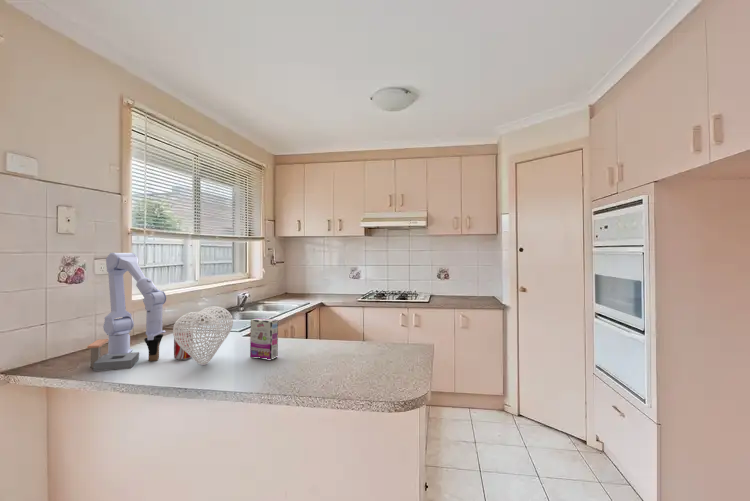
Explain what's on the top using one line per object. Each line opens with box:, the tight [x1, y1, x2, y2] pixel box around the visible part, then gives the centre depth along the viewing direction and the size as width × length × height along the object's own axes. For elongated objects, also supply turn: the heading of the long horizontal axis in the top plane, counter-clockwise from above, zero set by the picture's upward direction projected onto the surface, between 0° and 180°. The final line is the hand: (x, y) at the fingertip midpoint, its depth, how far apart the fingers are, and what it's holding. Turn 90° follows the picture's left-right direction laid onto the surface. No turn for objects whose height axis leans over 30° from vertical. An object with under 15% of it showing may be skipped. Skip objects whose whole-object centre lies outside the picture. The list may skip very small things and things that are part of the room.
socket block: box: [86, 338, 140, 372], centre depth 145 cm, size 12×14×9 cm
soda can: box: [173, 328, 194, 361], centre depth 156 cm, size 7×7×12 cm
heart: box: [172, 305, 234, 366], centre depth 147 cm, size 28×16×22 cm, turn 177°
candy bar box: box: [249, 317, 279, 359], centre depth 158 cm, size 11×5×16 cm, turn 68°
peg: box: [148, 343, 160, 362], centre depth 153 cm, size 3×3×8 cm
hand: (153, 353), depth 153 cm, fingers closed on peg, 3 cm apart
